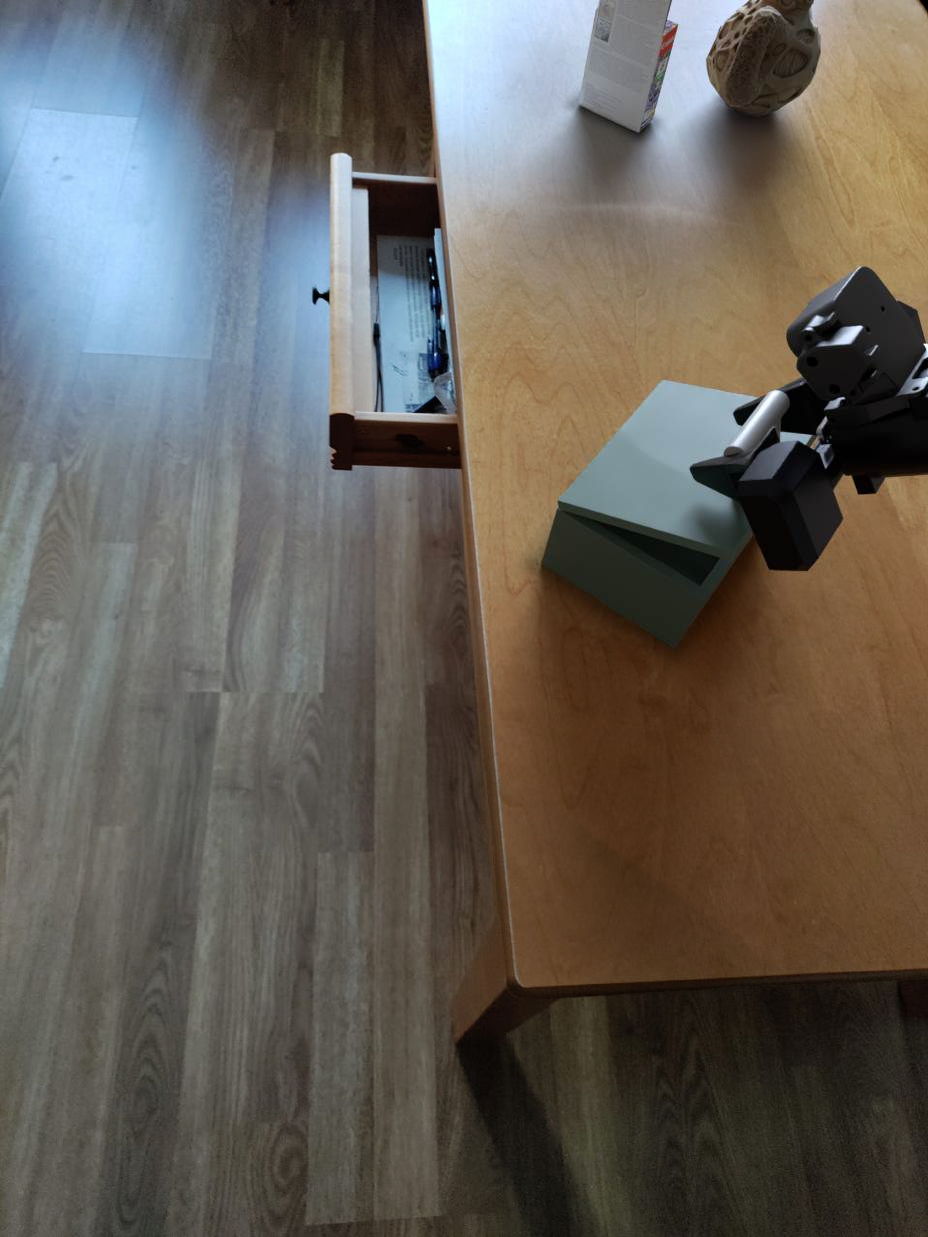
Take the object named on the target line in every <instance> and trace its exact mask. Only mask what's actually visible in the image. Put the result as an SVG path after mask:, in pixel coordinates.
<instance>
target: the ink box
mask: <svg viewBox="0 0 928 1237" xmlns="http://www.w3.org/2000/svg"><path fill="white" fill-rule="evenodd" d="M672 3H673V0H599V1H598V5H597V8H596V9H595V13H594V17H593V23H592V29H591V34H590V38H589V45H588V50H587V55H586V59H585V66H584V71H583V76H582V81H581V86H580V92H579V96H578V102H577V104H578V105H579V106H580V107H582V108H584V109H586V110H587V111H590V112H591V113H594V114H596V115H598V116H600V117H602V118H603V119H604V118H605V119H607V120H609V121H611V122H614V123H615V124H617V125H619V126H621V127H624V128H626V129H628V130H631V131H633V132H636V133H638V134H639V133H641V132H642V131H643V129H644V128H646V127H647V126H648V124H650V123H651V122H652V121H653V120H654V117H655V113H656V110H657V109H656V108H657V105H658V103H659V98H660V95H661V90H662V87H663V84H664V80H665V76H666V72H667V68H668V65H669V62H670V58H671V54H672V51H673V47H674V43H675V39H676V35H677V31H678V28H679V24H678V23H677V22H674V21H672V20H670V19H668V17H669V13H670V10H671V6H672Z"/></svg>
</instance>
